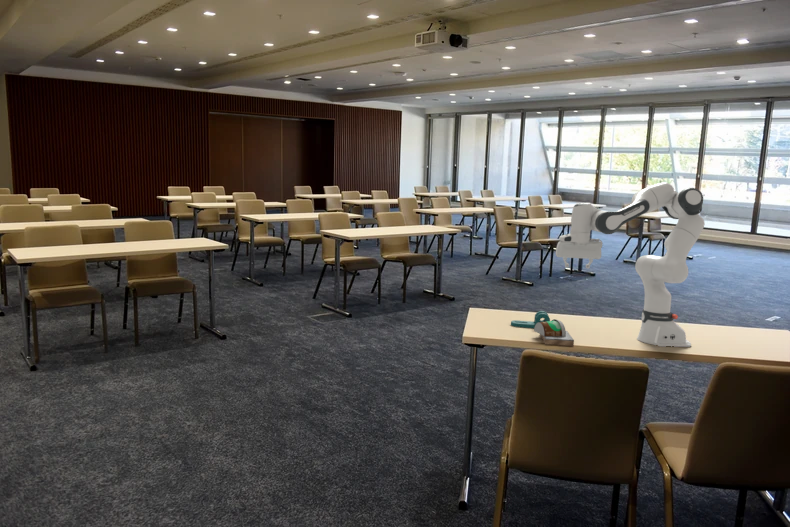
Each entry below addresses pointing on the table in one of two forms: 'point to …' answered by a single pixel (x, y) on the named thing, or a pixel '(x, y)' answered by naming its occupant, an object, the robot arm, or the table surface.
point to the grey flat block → (559, 340)
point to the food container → (550, 328)
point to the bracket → (529, 323)
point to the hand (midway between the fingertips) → (577, 267)
